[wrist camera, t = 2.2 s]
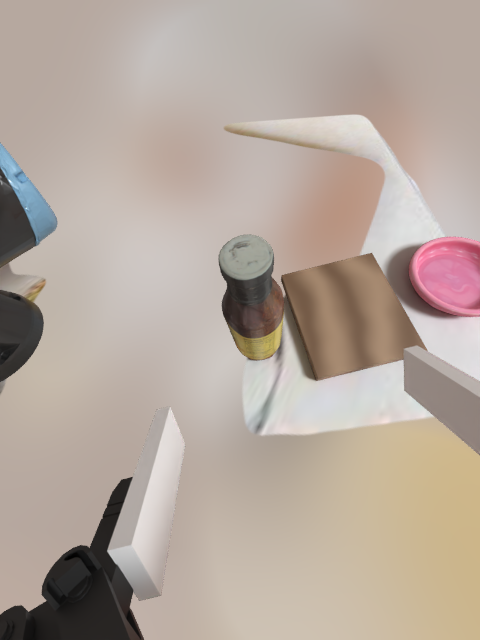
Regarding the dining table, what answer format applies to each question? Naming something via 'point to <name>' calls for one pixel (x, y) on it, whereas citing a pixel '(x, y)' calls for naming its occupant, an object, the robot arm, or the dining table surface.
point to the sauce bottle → (251, 296)
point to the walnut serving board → (348, 316)
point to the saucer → (448, 275)
